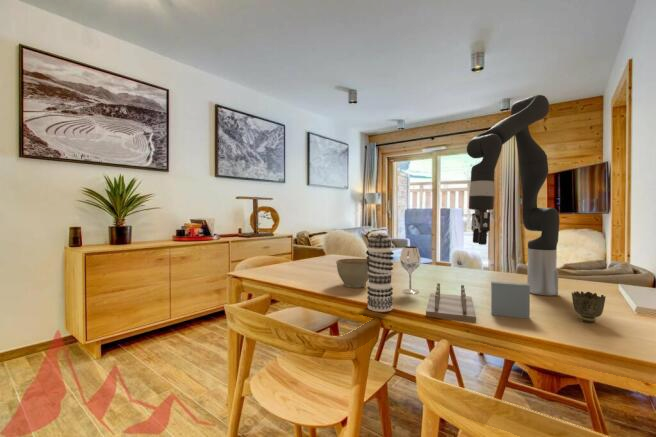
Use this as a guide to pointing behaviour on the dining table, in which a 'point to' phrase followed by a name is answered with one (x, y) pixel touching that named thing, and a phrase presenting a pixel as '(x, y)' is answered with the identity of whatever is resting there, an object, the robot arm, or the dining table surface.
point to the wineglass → (410, 264)
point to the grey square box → (510, 299)
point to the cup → (588, 305)
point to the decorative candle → (379, 272)
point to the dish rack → (451, 306)
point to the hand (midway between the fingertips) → (479, 243)
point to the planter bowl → (353, 272)
